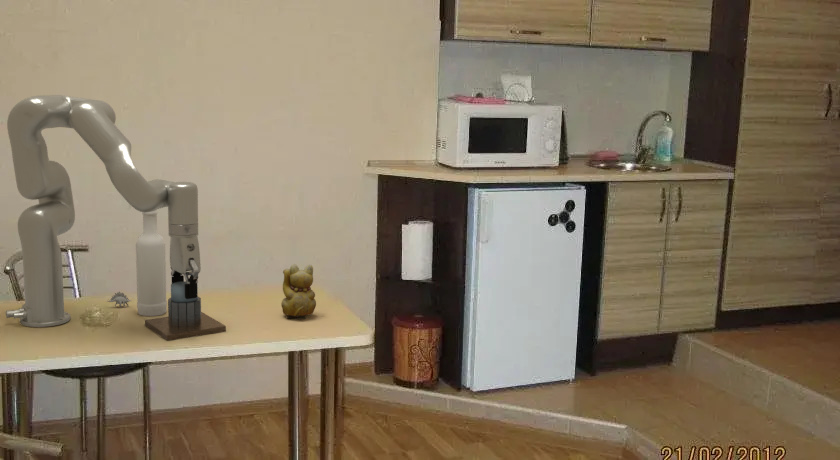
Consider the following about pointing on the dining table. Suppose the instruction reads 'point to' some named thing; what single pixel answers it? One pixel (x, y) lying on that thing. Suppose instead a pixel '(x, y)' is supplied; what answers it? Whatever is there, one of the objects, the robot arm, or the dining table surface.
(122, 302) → the stegosaurus
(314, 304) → the decorative figurine
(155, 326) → the copper square plate
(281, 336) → the dining table surface
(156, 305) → the bottle
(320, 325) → the dining table surface
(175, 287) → the cap
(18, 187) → the robot arm
